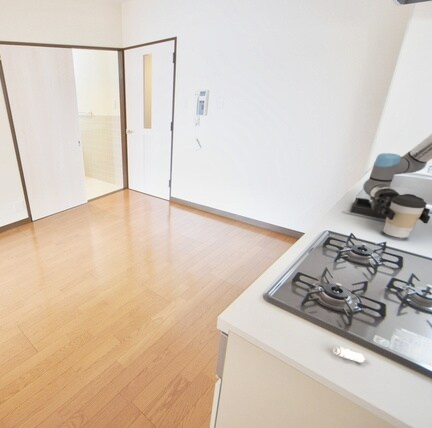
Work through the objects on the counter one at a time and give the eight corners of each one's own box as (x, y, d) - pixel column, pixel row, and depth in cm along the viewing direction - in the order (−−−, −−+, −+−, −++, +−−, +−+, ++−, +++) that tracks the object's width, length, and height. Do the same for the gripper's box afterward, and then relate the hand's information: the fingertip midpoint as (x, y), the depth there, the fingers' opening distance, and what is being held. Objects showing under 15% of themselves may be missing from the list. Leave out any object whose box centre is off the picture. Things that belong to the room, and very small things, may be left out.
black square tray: (390, 209, 127) (392, 203, 126) (389, 219, 119) (392, 213, 118) (354, 203, 136) (356, 197, 134) (350, 212, 127) (353, 205, 126)
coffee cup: (412, 241, 101) (429, 203, 95) (379, 234, 107) (393, 198, 100) (411, 232, 107) (428, 195, 101) (380, 225, 112) (393, 190, 106)
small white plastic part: (365, 373, 59) (370, 363, 58) (330, 357, 63) (334, 347, 62) (366, 361, 62) (371, 351, 60) (332, 346, 65) (336, 337, 64)
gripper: (415, 207, 115) (446, 232, 97) (351, 201, 124) (368, 223, 105) (422, 190, 112) (456, 212, 94) (356, 185, 121) (374, 205, 102)
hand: (409, 218), depth 99 cm, fingers closed on coffee cup, 9 cm apart
